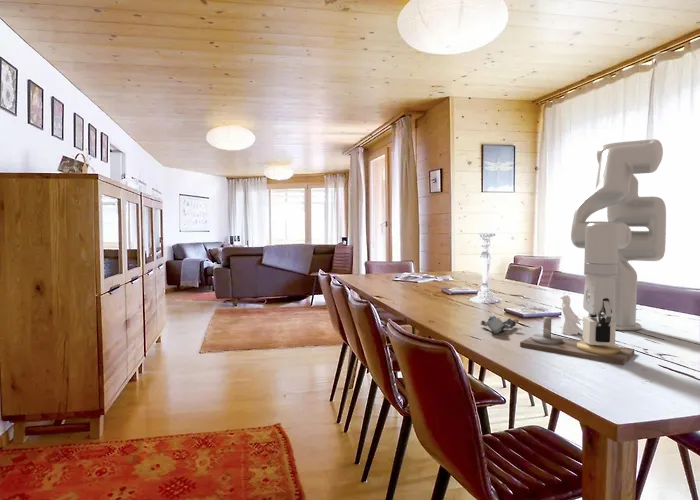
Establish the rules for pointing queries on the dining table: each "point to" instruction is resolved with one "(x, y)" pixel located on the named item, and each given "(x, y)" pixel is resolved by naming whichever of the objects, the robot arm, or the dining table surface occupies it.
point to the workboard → (576, 347)
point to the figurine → (570, 318)
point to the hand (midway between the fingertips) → (598, 337)
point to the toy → (499, 324)
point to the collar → (590, 331)
